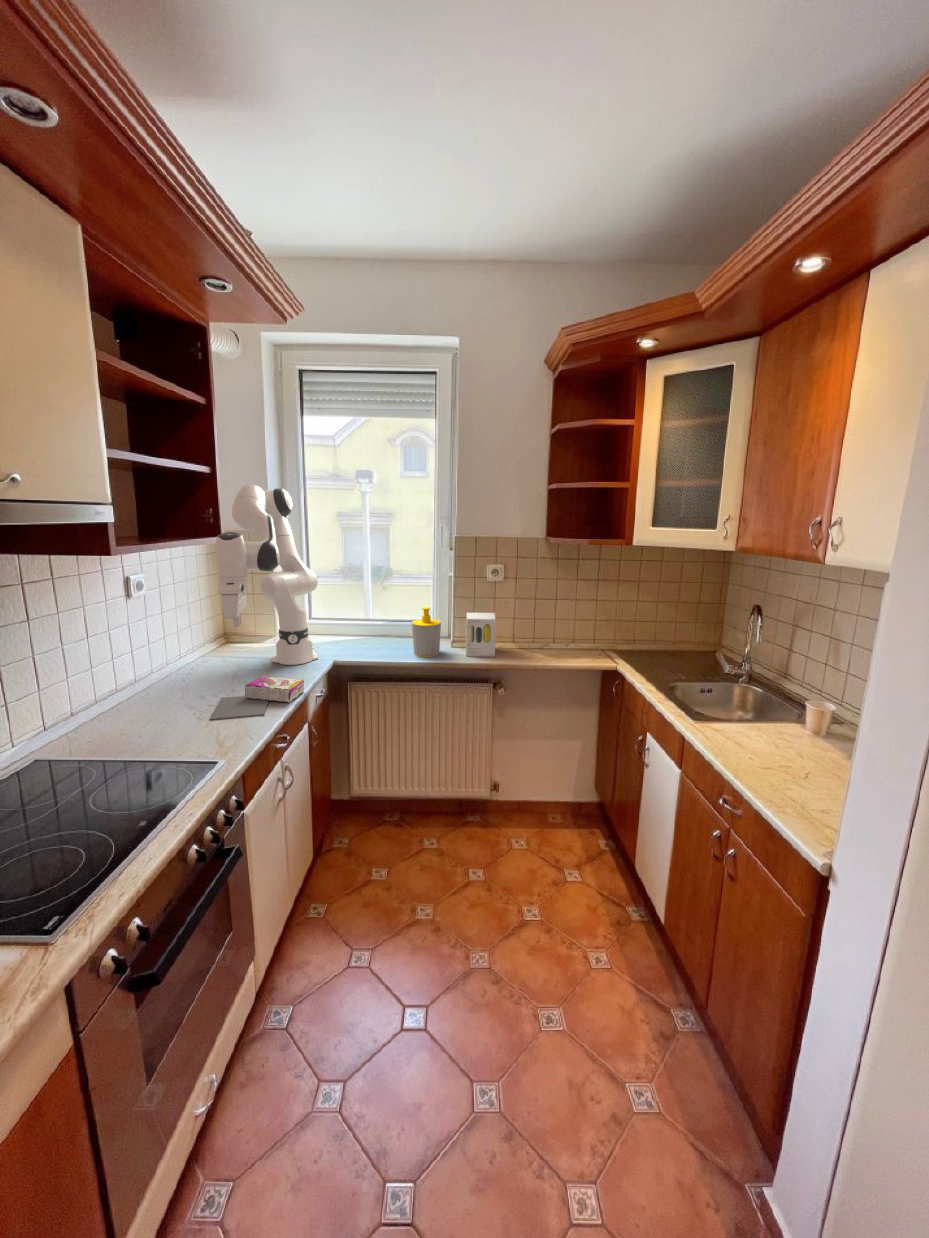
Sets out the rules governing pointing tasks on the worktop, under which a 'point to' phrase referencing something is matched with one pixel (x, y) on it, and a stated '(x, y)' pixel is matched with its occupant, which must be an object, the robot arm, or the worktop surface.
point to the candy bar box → (274, 689)
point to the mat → (239, 708)
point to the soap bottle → (426, 635)
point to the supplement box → (480, 634)
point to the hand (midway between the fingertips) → (237, 626)
